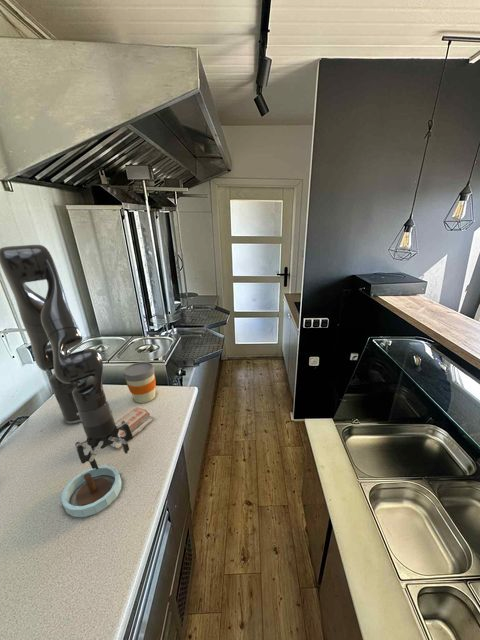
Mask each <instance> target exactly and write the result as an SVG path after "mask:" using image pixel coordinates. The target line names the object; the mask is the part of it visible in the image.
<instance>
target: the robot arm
mask: <svg viewBox="0 0 480 640" xmlns="http://www.w3.org/2000/svg"><path fill="white" fill-rule="evenodd" d="M0 267H1V269H2V271H3V274H4V276H5V279H6V281H7V283H8V285H9V287H10V290H11V292H12V294H13V297H14V299H15V302H16V306H17V309H18V312H19V315H20V319H21V321H22V324H23V327H24V330H25V332H26V334H27V336H28V339H29V341H30V345H31V350H32V354H33V359H34V362H35V364H36V365H37V368H39V369H40V370H41V371H44V372H48V371H52V370H53V371H54V373H53V374H52V375H50V377H49V379H48V382H49V385H50V387H51V389H52V392H53V394H54V397H55V399H56V402H57V404H58V407H59V409H60V412H61V414H62V417H63V421H64V422H65V423H66V424H68V425H74V424H78V423H81V425H82V427H83V430H84V433H85V436H86V439H85V440H84V441H81V442H80V441H76V442H75V444H74V446H75V448H76V452H77V456H78V458H79V460H80V462H81V464H83V465H84V464H85V463H87V462H89V465H90V468H93V469H96V470H97V469H98V466H99V465H98V463H97V461H96V456H97V455H98V454H99V452H100V450H103V449H105V448H107V446H111V444H113V442H117V443H121V444H122V446H121V448H122V449H123V450H122V451H123V452H124V454H125V455H127V454H128V453H129V451H130V446H129V443H128V442H129V441H131V440H133V439H134V436H132V433H131V431H130V428H129V426H128V424H127V423H126V422H125V421H123V422H122V423H121V425H119V426H116V425H115V423H116V422H115V419H114V415H113V411H112V409H111V406H110V404H109V402H108V400H107V397H106V393H105V391H104V386H103V373H104V369H103V368H104V362H103V358H102V355H101V353H100V352H98V350H96V349H94V348H85V349H81V350H78V351H75V352H73V353H72V352H71V349H73V348H75V347H77V346H79V345H80V344H81V343H82V341H83V335H82V333H81V330H80V328H79V326H78V324H77V322H76V320H75V318H74V316H73V313H72V311H71V308H70V306H69V303H68V300H67V296H66V293H65V289H64V286H63V284H62V281H61V277H60V275H59V272H58V268H57V266H56V263H55V261H54V258H53V257H52V255H51V253H50V251H49V250H48V248H47V247H46V246H44V245H42V244H25V245H9V246H2V247H0ZM40 281H46V283H47V290H46V295H45V297H44V296H42V295H40V294H39V293H38V292H37V293H36V292H35V291H34V290H33V289H32V288H30V287H29V286H28V285H27V284H26V283H33V282H40ZM85 379H86V380H85ZM81 380H84V381H82V382H81ZM119 430H122V431H125V434H126V436H124V437H122V436H120V435H118V432H119ZM87 446H88V447H89V450H88V452H87V453H86V454H85V451H86V448H87Z"/></svg>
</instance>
